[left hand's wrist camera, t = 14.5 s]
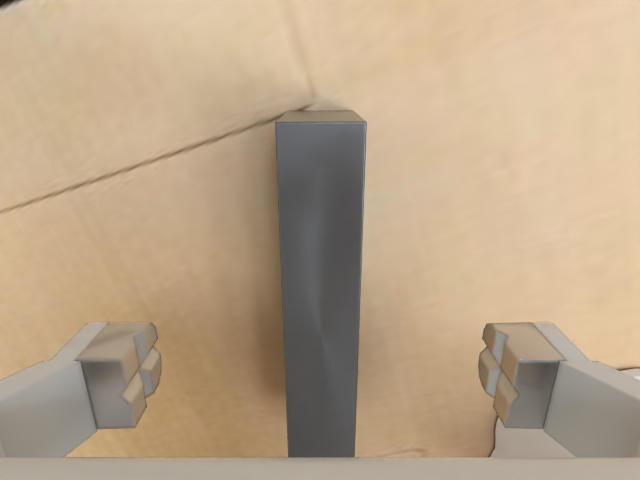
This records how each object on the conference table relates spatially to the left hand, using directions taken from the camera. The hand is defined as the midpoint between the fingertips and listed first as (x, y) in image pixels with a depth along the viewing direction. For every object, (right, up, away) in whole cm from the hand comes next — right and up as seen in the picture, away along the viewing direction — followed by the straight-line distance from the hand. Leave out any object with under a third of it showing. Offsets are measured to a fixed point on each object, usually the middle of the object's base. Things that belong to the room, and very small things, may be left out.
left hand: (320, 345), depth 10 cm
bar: (0, 0, +27) cm, 27 cm away
